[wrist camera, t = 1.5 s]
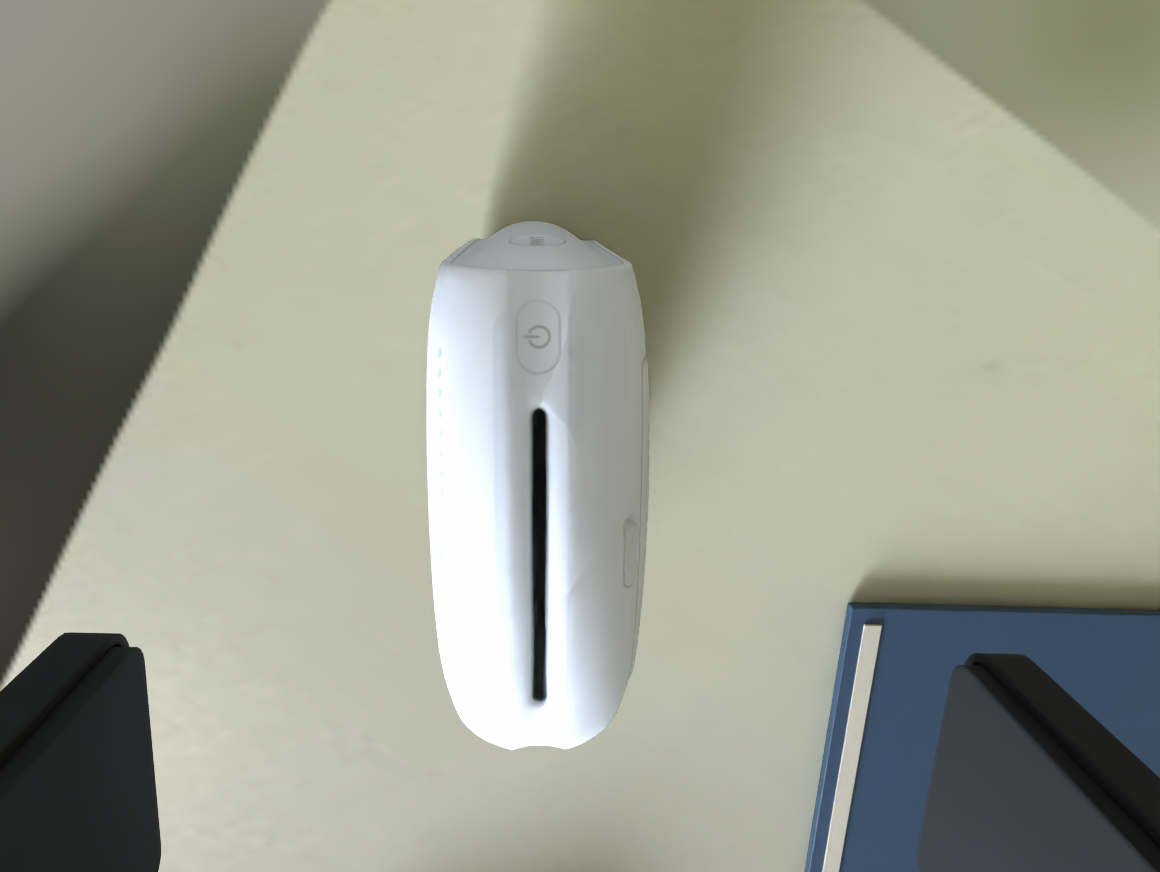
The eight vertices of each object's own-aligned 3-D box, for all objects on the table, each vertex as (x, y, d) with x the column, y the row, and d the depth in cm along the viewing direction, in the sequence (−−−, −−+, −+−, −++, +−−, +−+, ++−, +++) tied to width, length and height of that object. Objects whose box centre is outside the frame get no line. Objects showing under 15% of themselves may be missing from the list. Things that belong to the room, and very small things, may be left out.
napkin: (847, 601, 29) (853, 609, 29) (1286, 612, 30) (1298, 619, 30) (782, 1009, 34) (785, 1020, 34) (1160, 1004, 35) (1169, 1015, 35)
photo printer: (458, 215, 25) (396, 243, 13) (606, 217, 25) (678, 246, 13) (466, 543, 28) (422, 813, 16) (599, 542, 28) (654, 806, 16)
